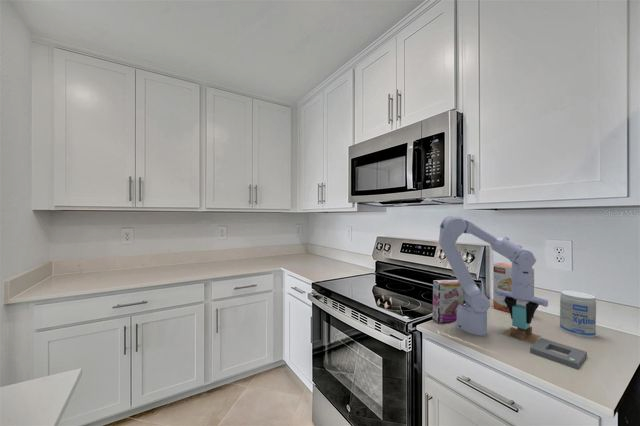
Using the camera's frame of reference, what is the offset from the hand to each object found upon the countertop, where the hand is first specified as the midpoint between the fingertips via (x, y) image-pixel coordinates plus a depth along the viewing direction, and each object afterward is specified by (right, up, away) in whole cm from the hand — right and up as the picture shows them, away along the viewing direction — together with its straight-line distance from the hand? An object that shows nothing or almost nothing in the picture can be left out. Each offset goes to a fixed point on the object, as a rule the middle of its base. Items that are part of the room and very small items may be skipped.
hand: (521, 320), depth 95 cm
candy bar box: (-19, -6, +15) cm, 25 cm away
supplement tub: (+23, -6, +3) cm, 24 cm away
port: (+2, -6, -13) cm, 15 cm away
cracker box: (+14, -6, +24) cm, 28 cm away
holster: (0, -6, 0) cm, 6 cm away
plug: (0, -2, 0) cm, 2 cm away
